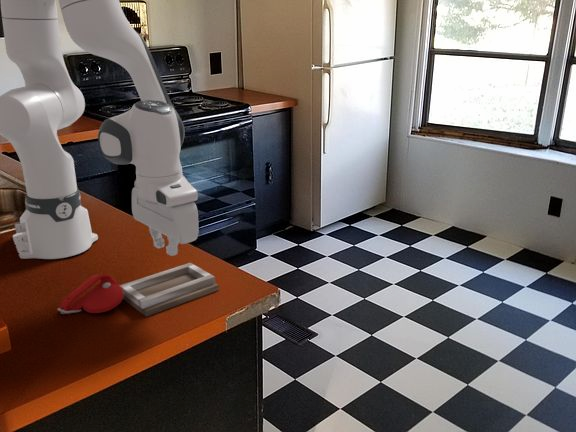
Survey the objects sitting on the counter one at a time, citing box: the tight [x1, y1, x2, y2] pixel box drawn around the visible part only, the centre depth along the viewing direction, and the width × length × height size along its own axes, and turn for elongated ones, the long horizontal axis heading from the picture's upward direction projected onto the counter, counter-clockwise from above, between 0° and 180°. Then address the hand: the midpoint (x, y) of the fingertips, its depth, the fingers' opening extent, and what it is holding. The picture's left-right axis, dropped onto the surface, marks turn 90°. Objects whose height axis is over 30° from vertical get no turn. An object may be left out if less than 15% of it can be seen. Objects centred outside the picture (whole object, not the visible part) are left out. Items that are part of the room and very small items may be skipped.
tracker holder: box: [57, 273, 124, 316], centre depth 119 cm, size 12×4×10 cm
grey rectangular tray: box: [118, 262, 220, 318], centre depth 125 cm, size 12×17×3 cm
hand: (165, 250), depth 122 cm, fingers open, 4 cm apart
